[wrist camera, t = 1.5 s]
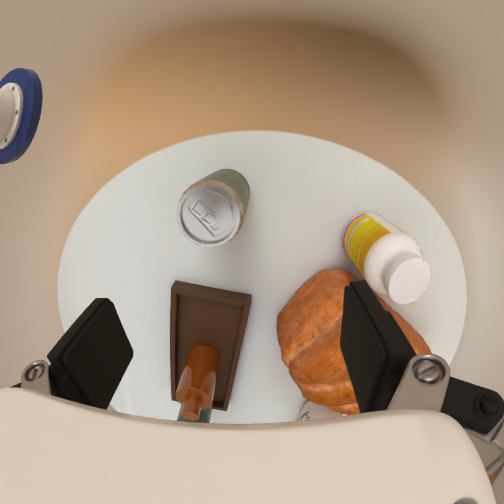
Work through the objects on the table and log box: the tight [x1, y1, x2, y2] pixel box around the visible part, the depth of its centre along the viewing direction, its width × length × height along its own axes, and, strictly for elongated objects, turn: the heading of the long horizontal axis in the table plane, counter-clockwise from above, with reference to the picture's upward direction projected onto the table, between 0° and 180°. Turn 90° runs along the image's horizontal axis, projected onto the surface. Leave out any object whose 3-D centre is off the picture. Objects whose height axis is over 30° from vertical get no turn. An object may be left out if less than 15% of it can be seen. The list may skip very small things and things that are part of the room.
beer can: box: [177, 169, 250, 247], centre depth 26 cm, size 5×5×12 cm
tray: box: [170, 281, 251, 411], centre depth 40 cm, size 11×26×2 cm, turn 170°
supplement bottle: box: [342, 212, 431, 304], centre depth 27 cm, size 7×7×13 cm
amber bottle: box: [176, 345, 220, 421], centre depth 35 cm, size 5×5×12 cm
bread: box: [277, 269, 432, 415], centre depth 31 cm, size 14×26×16 cm, turn 53°
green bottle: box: [177, 387, 216, 423], centre depth 38 cm, size 5×5×12 cm
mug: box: [298, 401, 343, 421], centre depth 43 cm, size 12×8×8 cm
